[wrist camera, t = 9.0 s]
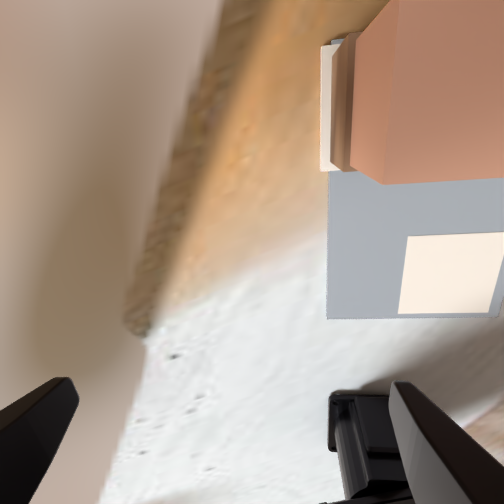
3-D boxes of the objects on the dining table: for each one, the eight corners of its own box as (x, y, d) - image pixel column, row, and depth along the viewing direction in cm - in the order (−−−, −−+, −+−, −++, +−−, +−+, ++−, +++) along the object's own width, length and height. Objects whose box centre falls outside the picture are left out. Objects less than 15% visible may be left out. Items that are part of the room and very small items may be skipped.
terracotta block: (462, 157, 12) (556, 174, 8) (349, 165, 13) (382, 185, 8) (488, 24, 10) (625, -44, 6) (355, 40, 11) (400, -13, 7)
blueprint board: (493, 313, 20) (498, 317, 19) (319, 315, 21) (319, 319, 21) (579, 10, 13) (589, 6, 13) (320, 43, 15) (321, 41, 14)
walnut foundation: (424, 154, 16) (467, 163, 12) (330, 161, 16) (343, 172, 13) (440, 43, 14) (497, 14, 10) (331, 57, 14) (348, 33, 11)
